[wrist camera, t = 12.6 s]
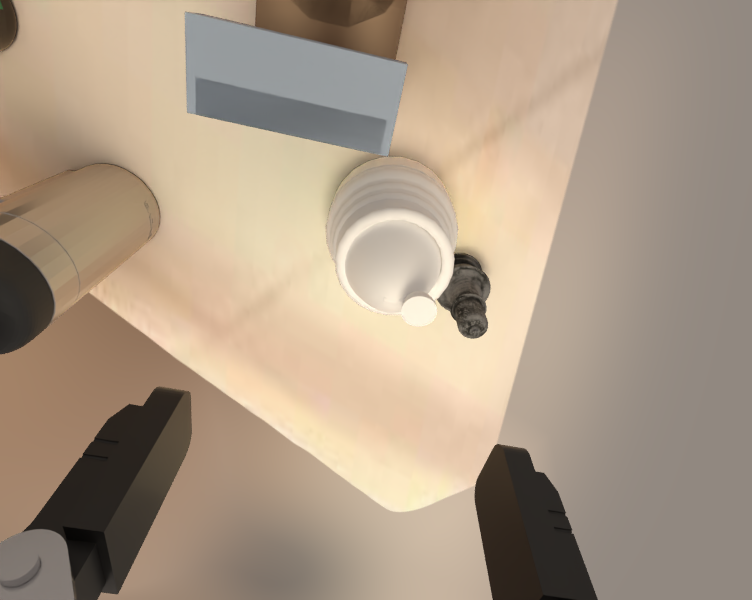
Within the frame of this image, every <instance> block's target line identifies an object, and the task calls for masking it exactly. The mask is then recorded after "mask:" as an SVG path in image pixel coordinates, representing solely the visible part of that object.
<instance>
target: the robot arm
mask: <svg viewBox="0 0 752 600" xmlns="http://www.w3.org/2000/svg"><path fill="white" fill-rule="evenodd" d="M159 222H160V214H159V208H158V205H157V203H156V200H155V198H154V196H153V195H152V193H151V191H150V190H149V189H148V187H147V186H146V185H145V184H144V183H143V182H142V181H141V180H140V179H139V178H137V177H136V176H135V175H134V174H132V173H130V172H129V171H127V170H125V169H123V168H120V167H118V166H115V165H110V164H93V165H89V166H86V167H84V168H82V169H79V170H77V171H71V170H67V171H65V172H62V173H60V174H58V175H55V176H53V177H50V178H48V179H45V180H43V181H41V182H38V183H36V184H33V185H31V186H28V187H26V188H24V189H21V190H19V191H16V192H14V193H12V194H9V195H7V196H4V197H2V198H0V354H5V353H9V352H12V351H14V350H17V349H19V348H21V347H23V346H24V345H26V344H27V343H29V342H30V341H31V340H33V339H34V338H35V337H36V336H37V335H39V334H40V333H41V332H42V331H43V330H44V329H46V328H47V327H48V326H49V325H50V324H52V323H53V322H54V321H55V320H56V319H58V317H60V316H61V315H62V314H63V313H65V312H66V311H67V310H68V309H69V308H70V307H72V306H73V305H74V304H75V303H76V302H77V301H79V300H80V299H81V298H82V297H83V296H85V295H86V294H87V293H88V292H89V291H90V290H92V289H93V288H94V287H95V286H96V285H98V284H99V283H100V282H101V281H102V280H103V279H105V278H106V277H107V276H108V275H109V274H111V273H112V272H113V271H114V270H115V269H116V268H118V267H119V266H120V265H121V264H122V263H124V262H125V261H126V260H127V259H128V258H129V257H131V256H132V255H133V254H134V253H135V252H137V251H138V250H139V249H140V248H141V247H142V246H144V245H145V244H146V243H147V242H148V241H149V240H150V239H152V238H153V237H154V235H155V234H156V232H157V230H158V227H159ZM191 434H192V424H191V395H190V392H189V391H184V390H177V389H171V388H165V387H157V388H156V389H154V391H153V392H152V393H151V395H150V397H149V398H148V399H147V401H146V402H145V404H144V405H143V406H138V405H131V404H129V405H127V406H126V407H125V408H123V409H122V410H120V411H119V412H118V413H116V414H115V415H113V416H112V417H111V418H109V419H108V420H107V422H106V423H105V424H104V426H103V427H102V428H101V430H100V431H99V433H98V434H97V435H96V437H95V439H94V441H93V442H91V443H90V445H89V446H88V448H87V449H86V450H85V452H84V453H83V456H82V458H79V460H78V461H77V462H76V464H75V465H74V466H73V468H72V469H71V471H70V472H69V473H68V475H67V476H66V477H65V479H64V480H63V481H62V483H61V484H60V485H59V487H58V488H57V490H56V491H55V492H54V494H53V495H52V496H51V498H50V499H49V500H48V502H47V503H46V504H45V506H44V507H43V508H42V510H41V511H40V513H39V514H38V515H37V517H36V518H35V519H34V521H33V522H32V523H31V524H30V525H29V526H28V527H27V528H26V529H25V530H24V531H23V532H21V533H19V534H16V535H14V536H11V537H10V538H7V539H6V540H4V541H2V542H1V543H0V600H97V599H98V597H99V595H100V593H101V592H104V593H111V594H118V593H119V591H120V589H121V587H122V585H123V583H124V581H125V579H126V577H127V575H128V573H129V571H130V569H131V566H132V564H133V562H134V560H135V558H136V556H137V554H138V552H139V550H140V548H141V546H142V544H143V542H144V540H145V538H146V536H147V534H148V532H149V530H150V528H151V526H152V524H153V521H154V519H155V517H156V515H157V513H158V511H159V509H160V507H161V505H162V503H163V501H164V499H165V497H166V495H167V493H168V491H169V489H170V487H171V485H172V482H173V481H174V478H175V476H176V474H177V472H178V470H179V468H180V466H181V464H182V462H183V460H184V458H185V456H186V453H187V451H188V448H189V444H190V440H191ZM475 505H476V510H477V515H478V521H479V527H480V532H481V538H482V543H483V549H484V554H485V560H486V565H487V570H488V576H489V581H490V587H491V592H492V598H493V600H598V599H597V597H596V594H595V591H594V588H593V585H592V583H591V580H590V577H589V575H588V572H587V569H586V567H585V564H584V561H583V558H582V556H581V553H580V550H579V548H578V545H577V542H576V539H575V537H574V534H572V532H571V531H572V528H571V526H570V523H569V520H568V518H567V517H566V516H565V513H566V512H565V510H564V507H563V504H562V501H561V499H560V496H559V493H558V491H557V490H556V489H555V487H554V486H553V485H552V483H551V482H550V480H549V479H548V478H547V476H546V475H545V474H544V473H541V472H535V469H534V466H533V463H532V461H531V457H530V455H529V453H528V451H527V450H526V449H524V448H518V447H512V446H505V445H500V444H497V445H495V446H494V448H493V450H492V451H491V453H490V455H489V457H488V459H487V461H486V463H485V465H484V467H483V469H482V471H481V473H480V474H479V476H478V479H477V481H476V487H475Z"/></svg>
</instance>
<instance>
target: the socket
mask: <svg viewBox="0 0 752 600" xmlns="http://www.w3.org/2000/svg"><path fill="white" fill-rule="evenodd" d="M406 4H407V0H257V2H256V22H255V27H259V28H264V29H268V30H272V31H276V32H280V33H285V34H289V35H293V36H297V37H301V38H306V39H310V40H314V41H318V42H322V43H327V44H331V45H335V46H339V47H343V48H348V49H352V50H356V51H360V52H364V53H368V54H373V55H377V56H381V57H385V58H389V59H394V60H395V59H396V54H397V49H398V44H399V39H400V34H401V29H402V24H403V19H404V14H405V9H406Z"/></svg>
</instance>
